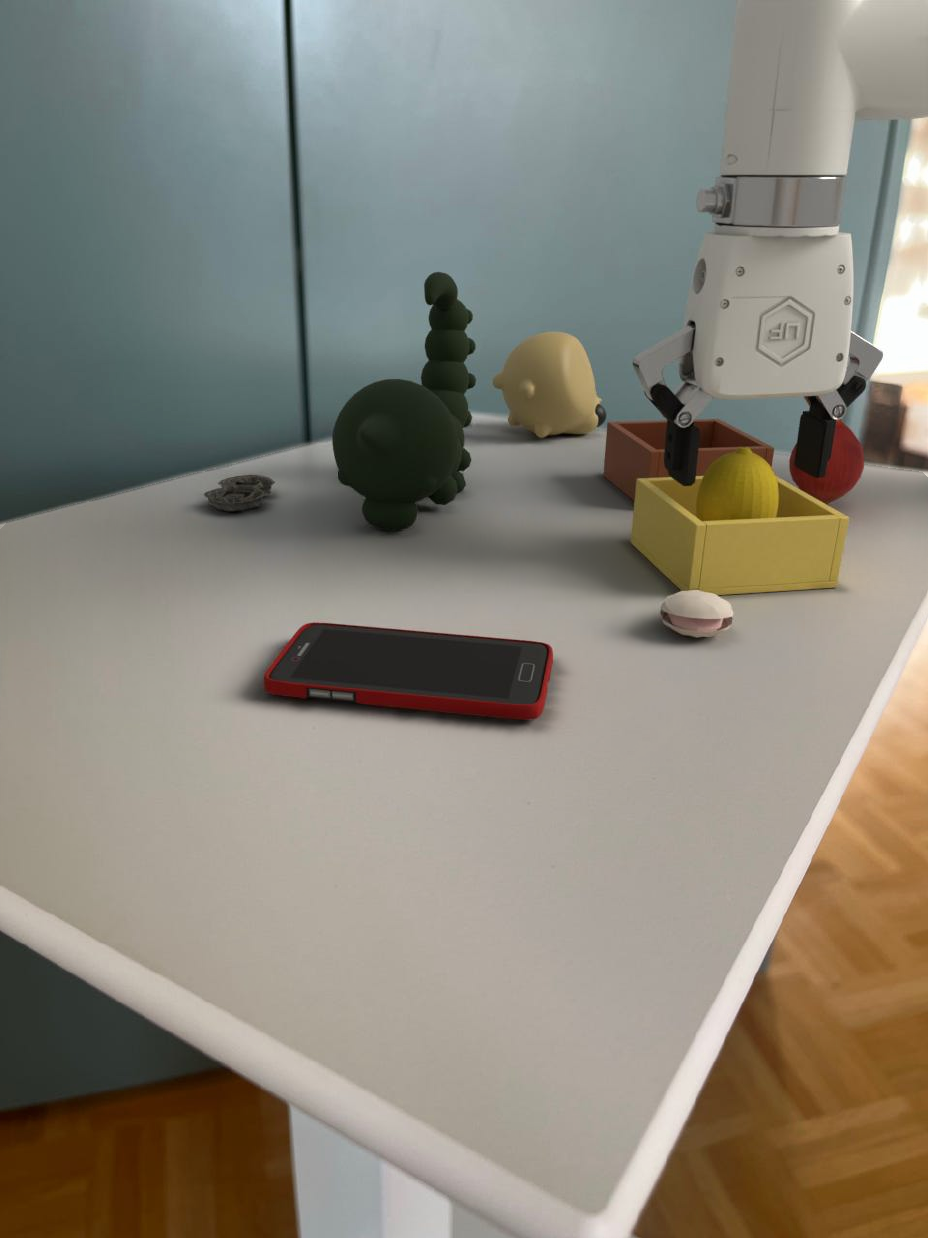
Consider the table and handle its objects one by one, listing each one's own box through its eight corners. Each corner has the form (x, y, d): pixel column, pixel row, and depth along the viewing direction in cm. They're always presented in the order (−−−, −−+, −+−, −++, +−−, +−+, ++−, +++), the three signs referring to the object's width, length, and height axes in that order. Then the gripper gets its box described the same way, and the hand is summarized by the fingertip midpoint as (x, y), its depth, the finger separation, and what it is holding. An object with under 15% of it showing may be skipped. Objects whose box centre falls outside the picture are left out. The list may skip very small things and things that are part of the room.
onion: (808, 491, 89) (823, 401, 85) (868, 507, 85) (886, 413, 81) (770, 503, 85) (784, 409, 82) (831, 520, 81) (848, 422, 78)
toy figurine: (399, 482, 95) (299, 545, 72) (403, 270, 89) (295, 264, 65) (497, 490, 93) (426, 558, 70) (508, 274, 87) (434, 270, 64)
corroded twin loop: (283, 486, 86) (282, 475, 86) (258, 515, 79) (257, 502, 79) (226, 484, 87) (225, 472, 86) (196, 512, 79) (195, 500, 79)
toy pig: (574, 476, 105) (642, 402, 105) (515, 398, 97) (588, 318, 98) (523, 451, 112) (586, 383, 113) (465, 377, 105) (532, 303, 105)
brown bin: (712, 471, 94) (718, 418, 92) (766, 505, 85) (774, 447, 83) (603, 475, 92) (607, 421, 90) (645, 511, 83) (651, 451, 81)
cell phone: (541, 725, 50) (542, 708, 49) (258, 696, 52) (257, 680, 51) (554, 658, 57) (555, 642, 56) (304, 635, 59) (303, 620, 58)
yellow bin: (762, 535, 77) (771, 472, 75) (836, 587, 68) (849, 517, 66) (630, 542, 75) (636, 478, 73) (687, 597, 66) (696, 524, 64)
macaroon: (659, 641, 59) (663, 602, 58) (656, 608, 64) (660, 572, 63) (733, 647, 59) (739, 608, 58) (725, 614, 63) (730, 577, 62)
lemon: (675, 548, 73) (687, 440, 70) (739, 540, 75) (754, 434, 71) (718, 574, 68) (733, 460, 65) (786, 565, 70) (804, 453, 67)
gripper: (669, 212, 57) (646, 500, 64) (940, 210, 60) (889, 485, 67) (624, 207, 64) (608, 468, 71) (870, 205, 67) (831, 456, 74)
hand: (745, 476), depth 69 cm, fingers open, 9 cm apart
